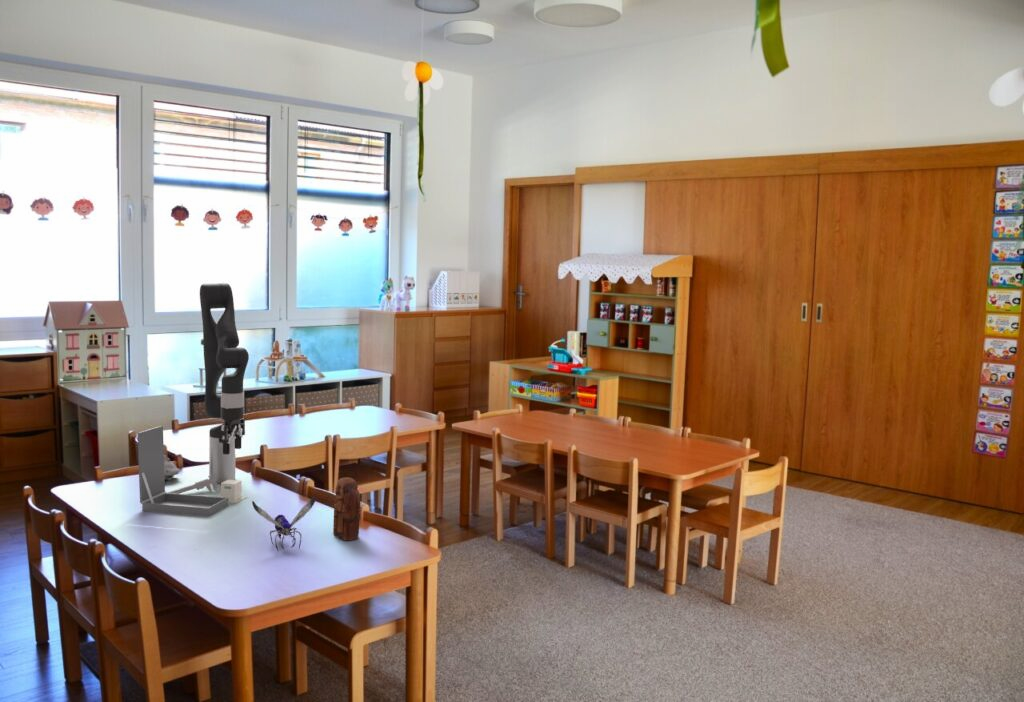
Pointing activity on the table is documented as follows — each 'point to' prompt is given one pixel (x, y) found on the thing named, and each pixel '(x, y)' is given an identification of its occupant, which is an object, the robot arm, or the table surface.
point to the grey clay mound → (169, 469)
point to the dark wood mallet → (346, 509)
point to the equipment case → (154, 482)
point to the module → (231, 489)
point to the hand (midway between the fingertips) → (232, 451)
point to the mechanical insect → (285, 521)
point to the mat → (237, 500)
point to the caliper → (198, 485)
